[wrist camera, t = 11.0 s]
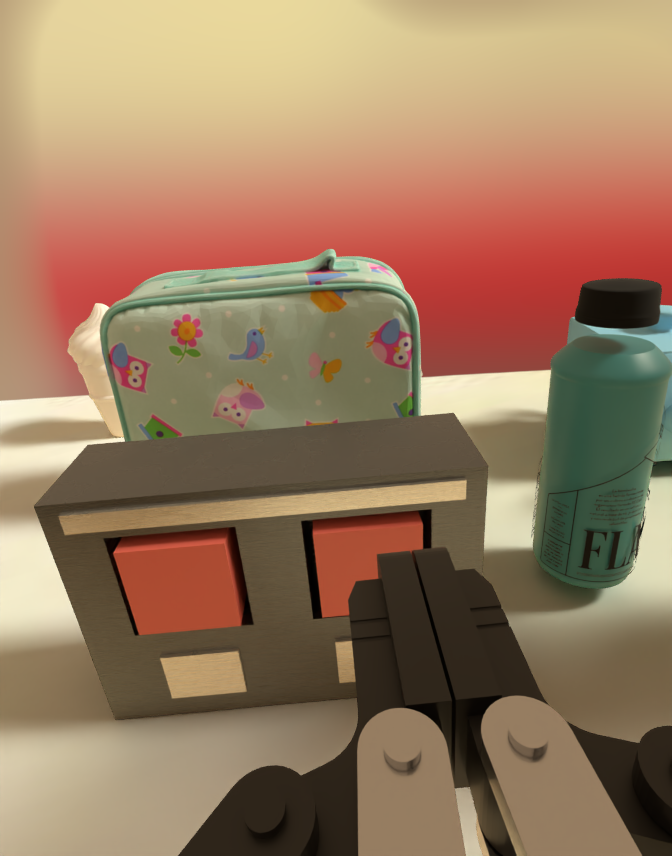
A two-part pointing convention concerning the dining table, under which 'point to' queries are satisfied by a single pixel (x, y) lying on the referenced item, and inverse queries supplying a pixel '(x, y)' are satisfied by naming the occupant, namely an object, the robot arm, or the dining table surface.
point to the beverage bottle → (601, 437)
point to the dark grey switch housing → (251, 548)
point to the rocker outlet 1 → (183, 580)
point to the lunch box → (263, 348)
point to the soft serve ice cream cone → (95, 367)
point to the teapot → (668, 338)
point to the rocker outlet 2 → (358, 551)
